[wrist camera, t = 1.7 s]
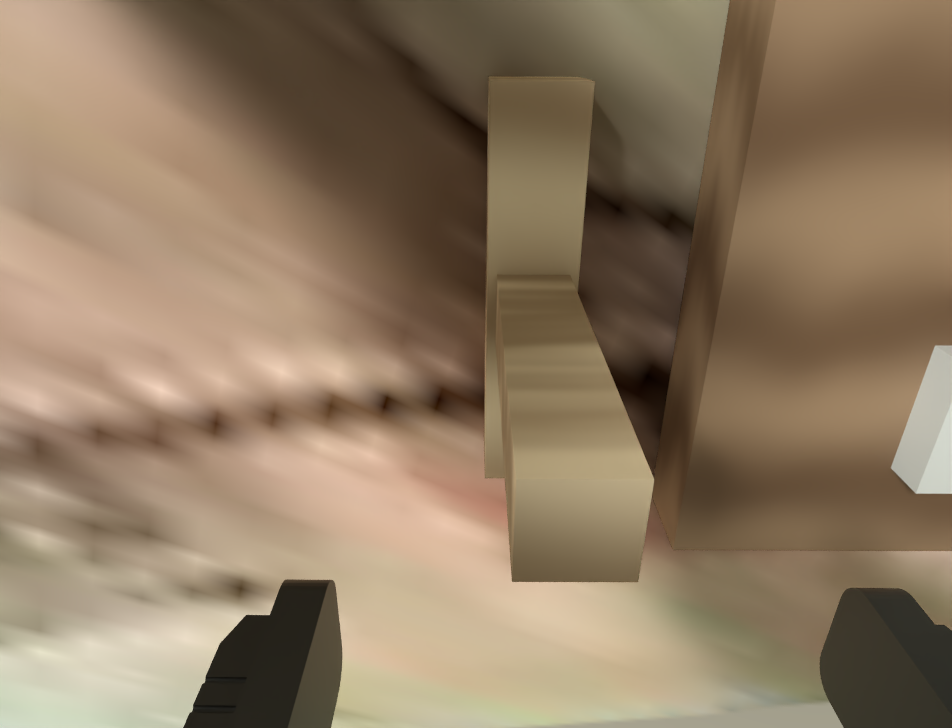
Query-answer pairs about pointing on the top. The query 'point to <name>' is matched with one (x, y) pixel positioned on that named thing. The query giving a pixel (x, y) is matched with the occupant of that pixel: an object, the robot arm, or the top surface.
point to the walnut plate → (814, 282)
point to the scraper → (552, 350)
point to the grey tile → (929, 431)
